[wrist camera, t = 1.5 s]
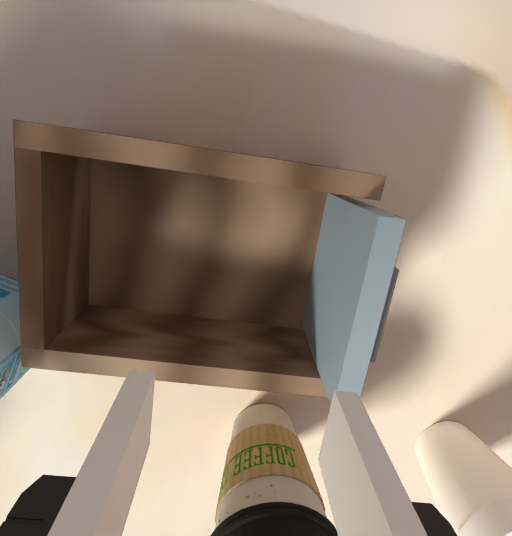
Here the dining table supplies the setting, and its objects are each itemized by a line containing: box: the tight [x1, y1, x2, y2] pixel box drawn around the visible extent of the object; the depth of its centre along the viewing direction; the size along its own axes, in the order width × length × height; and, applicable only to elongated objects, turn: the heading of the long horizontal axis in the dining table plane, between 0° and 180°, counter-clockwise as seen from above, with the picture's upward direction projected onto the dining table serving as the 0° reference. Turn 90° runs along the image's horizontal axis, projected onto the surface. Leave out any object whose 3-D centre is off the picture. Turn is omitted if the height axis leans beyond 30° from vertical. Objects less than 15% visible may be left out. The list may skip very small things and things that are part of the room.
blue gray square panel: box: [302, 193, 406, 404], centre depth 27 cm, size 2×12×12 cm, turn 172°
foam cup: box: [415, 421, 512, 536], centre depth 35 cm, size 10×9×13 cm
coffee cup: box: [211, 403, 338, 536], centre depth 33 cm, size 10×10×15 cm
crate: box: [13, 120, 386, 397], centre depth 29 cm, size 22×16×10 cm
